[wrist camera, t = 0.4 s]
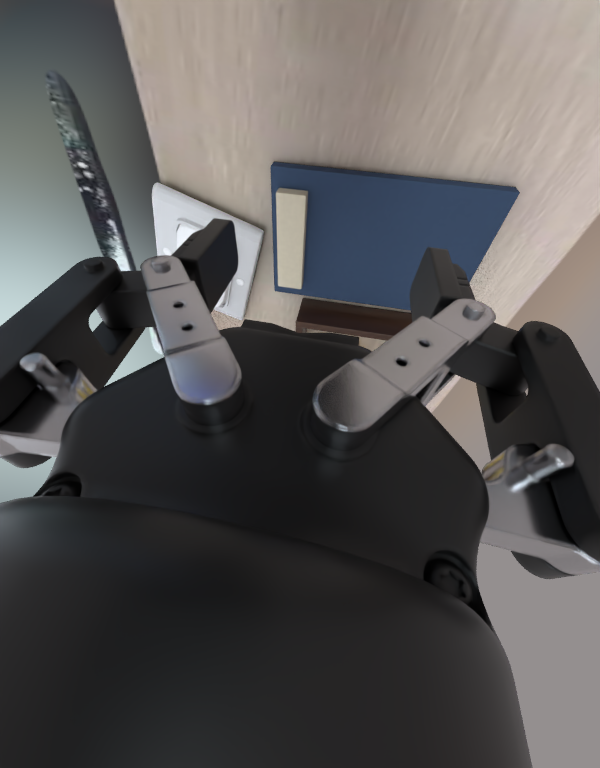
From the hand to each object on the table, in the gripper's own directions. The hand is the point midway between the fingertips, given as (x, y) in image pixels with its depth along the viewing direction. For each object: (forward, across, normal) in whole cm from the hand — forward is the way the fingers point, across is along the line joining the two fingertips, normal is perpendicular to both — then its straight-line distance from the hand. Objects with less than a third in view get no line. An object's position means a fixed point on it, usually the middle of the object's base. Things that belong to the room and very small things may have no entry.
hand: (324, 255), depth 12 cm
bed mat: (+18, -4, +7) cm, 19 cm away
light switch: (+18, +14, +11) cm, 26 cm away
